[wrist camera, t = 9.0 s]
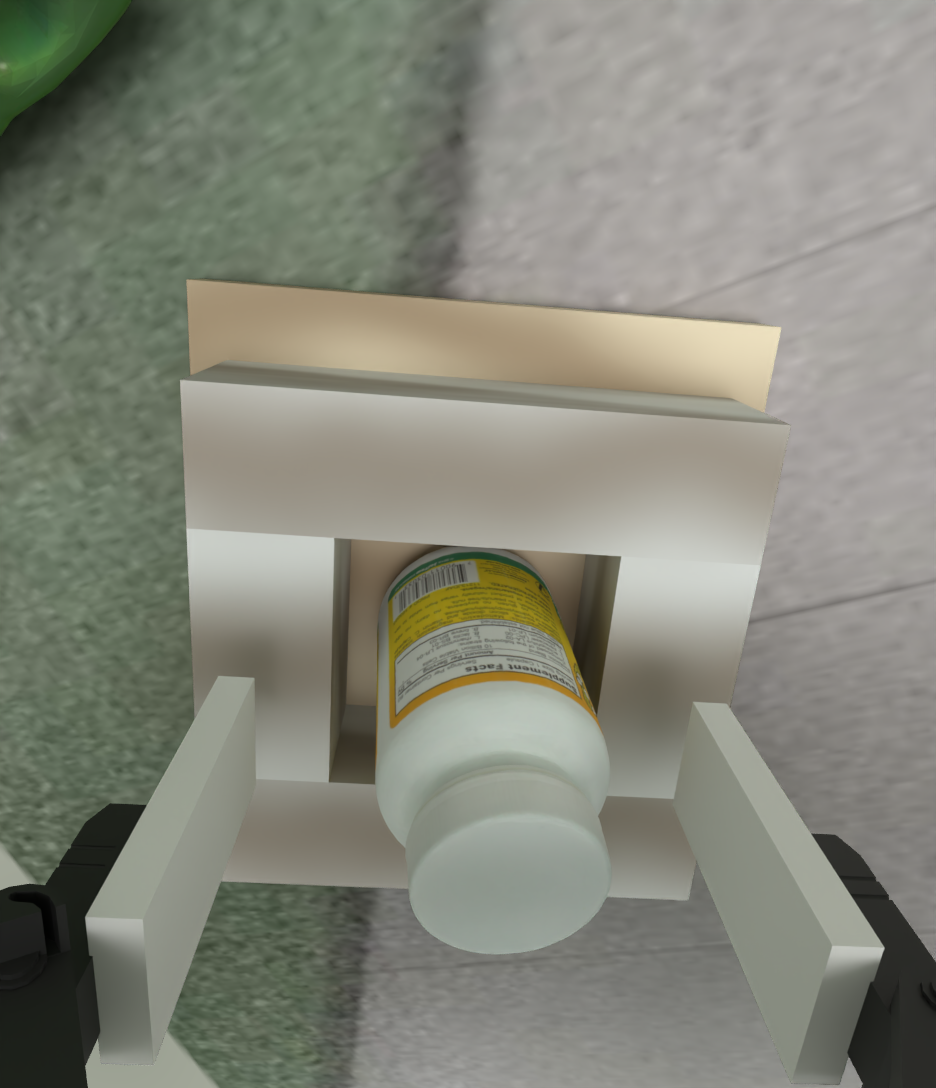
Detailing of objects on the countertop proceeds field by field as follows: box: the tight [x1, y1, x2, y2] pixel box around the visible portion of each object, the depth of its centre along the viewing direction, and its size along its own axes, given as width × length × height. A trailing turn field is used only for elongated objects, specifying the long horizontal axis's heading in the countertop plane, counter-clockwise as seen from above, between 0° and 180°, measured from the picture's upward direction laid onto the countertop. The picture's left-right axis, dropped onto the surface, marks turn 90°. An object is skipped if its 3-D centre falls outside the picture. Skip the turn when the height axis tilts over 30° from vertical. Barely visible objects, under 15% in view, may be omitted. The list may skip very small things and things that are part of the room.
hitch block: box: [180, 279, 791, 900], centre depth 23 cm, size 18×16×6 cm
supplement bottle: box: [375, 546, 612, 955], centre depth 19 cm, size 5×5×10 cm
